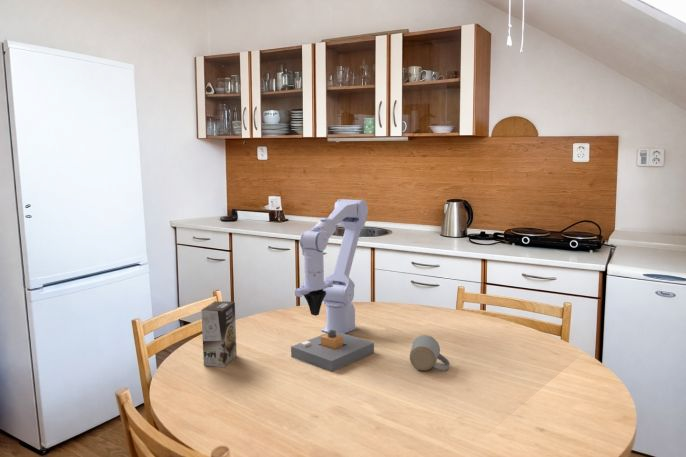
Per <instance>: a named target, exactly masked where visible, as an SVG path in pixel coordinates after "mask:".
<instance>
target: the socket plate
mask: <svg viewBox="0 0 686 457" xmlns="http://www.w3.org/2000/svg"><path fill="white" fill-rule="evenodd" d="M327 333H328V332H325V333H324V334H322V335H318V336H316V337H313V338H310V339H308V340H305V341H302V342H299V343H296V344H295V345H292V346H290V356H291V358H294V359H297V360H299V361H302V362H303V363H304V362H305V363H307V364H310V365H313V366H314V367H318V368H320V369H323V370H326V371H329V372H334V371H336V370H338V369H341V368H343V367H346V366H347V365H350V364H352V363H354V362H356V361H359V360H361V359H363V358H365V357H368V356H369V355H372V354H374V353H375V342H374V341H369V340H367V339H363V338H360V337H357V336H353V335H350V334H347V333H340V332H337V331H336V335H341V336H343V347H341V348H338V349H336V350H333V349H330V348H327V347H324V346H321V336H323V335H325V334H327Z"/></svg>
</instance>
